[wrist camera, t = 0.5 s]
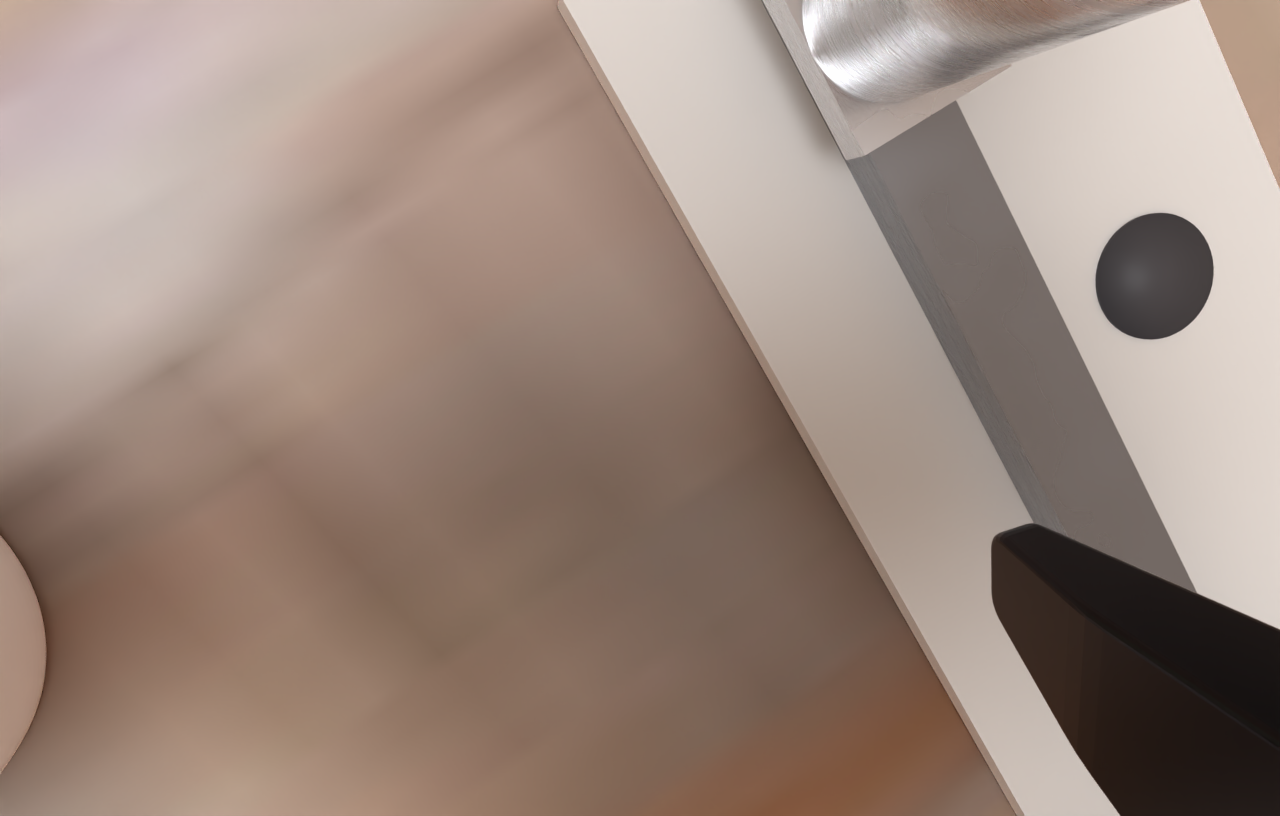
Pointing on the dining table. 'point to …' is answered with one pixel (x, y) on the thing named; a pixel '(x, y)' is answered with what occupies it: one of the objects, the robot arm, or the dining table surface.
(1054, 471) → the rail
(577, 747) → the dining table surface
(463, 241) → the dining table surface
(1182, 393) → the bolt plate
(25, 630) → the candle holder
